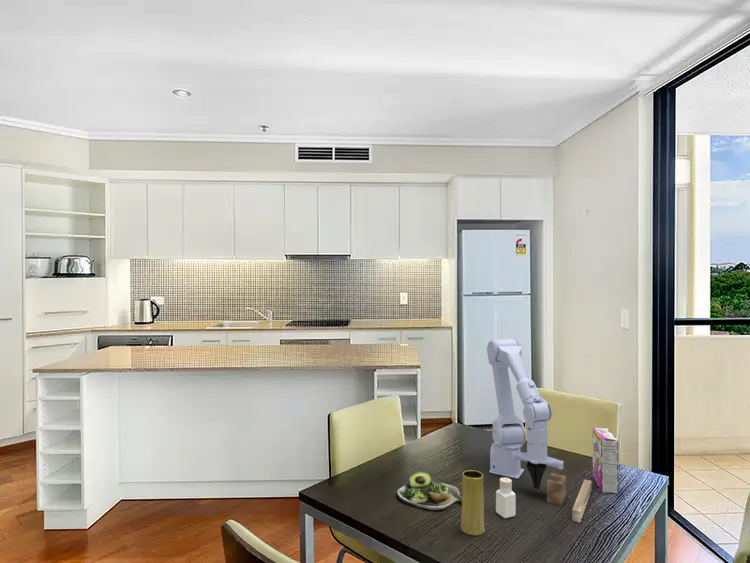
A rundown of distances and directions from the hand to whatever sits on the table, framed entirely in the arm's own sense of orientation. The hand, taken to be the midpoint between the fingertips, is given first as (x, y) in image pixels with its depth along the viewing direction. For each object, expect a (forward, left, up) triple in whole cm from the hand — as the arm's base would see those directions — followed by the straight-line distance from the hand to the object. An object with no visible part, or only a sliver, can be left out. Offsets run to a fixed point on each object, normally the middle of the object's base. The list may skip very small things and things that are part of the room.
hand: (536, 487), depth 139 cm
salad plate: (-27, -18, -2) cm, 33 cm away
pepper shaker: (-4, -17, -2) cm, 18 cm away
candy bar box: (+17, +17, -2) cm, 24 cm away
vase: (-9, -29, -2) cm, 31 cm away
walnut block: (+6, 0, -2) cm, 6 cm away
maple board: (+13, 0, -2) cm, 13 cm away
